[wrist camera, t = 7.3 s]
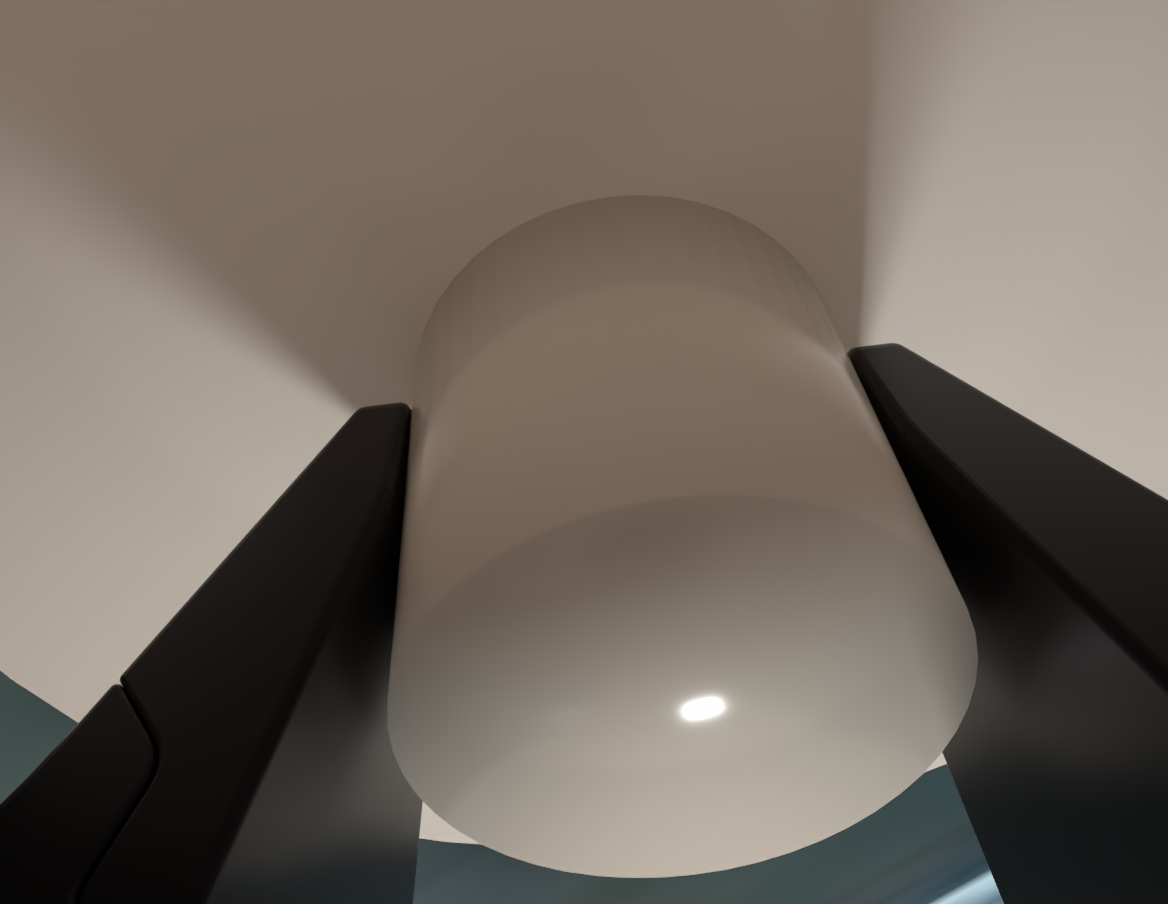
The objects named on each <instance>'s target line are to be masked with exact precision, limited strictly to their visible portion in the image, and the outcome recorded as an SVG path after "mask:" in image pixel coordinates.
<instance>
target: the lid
mask: <svg viewBox="0 0 1168 904" xmlns="http://www.w3.org/2000/svg"><path fill="white" fill-rule="evenodd" d="M886 343H897V344H900V345H902V346H904V347H906V348H908V349H909V350H911V351H913V352H915V353H916V354H918V355H920V356H921V357H923V358H925V359H927V360H928V361H930V362H932V363H933V364H935V365H937V366H939V367H940V368H942V369H944V370H946V371H947V372H949V373H951V374H952V375H954V376H956V377H958V378H959V379H961V380H963V381H964V382H966V383H968V384H970V385H971V386H973V387H975V388H976V389H978V390H980V391H982V392H983V393H985V394H987V395H989V396H990V397H992V398H994V399H995V400H997V401H999V402H1001V403H1002V404H1004V405H1006V406H1007V407H1009V408H1011V409H1013V410H1014V411H1016V412H1018V413H1019V414H1021V415H1023V416H1025V417H1026V418H1028V419H1030V420H1032V421H1033V422H1035V423H1037V424H1038V425H1040V426H1042V427H1044V428H1045V429H1047V430H1049V431H1050V432H1052V433H1054V434H1056V435H1057V436H1059V437H1061V438H1063V439H1064V440H1066V441H1068V442H1069V443H1071V444H1073V445H1075V446H1076V447H1078V448H1080V449H1081V450H1083V451H1085V452H1087V453H1088V454H1090V455H1092V456H1093V457H1095V458H1097V459H1099V460H1100V461H1102V462H1104V463H1106V464H1107V465H1109V466H1111V467H1112V468H1114V469H1116V470H1118V471H1119V472H1121V473H1123V474H1124V475H1126V476H1128V477H1130V478H1131V479H1133V480H1135V481H1136V482H1138V483H1140V484H1142V485H1143V486H1145V487H1147V488H1149V489H1150V490H1152V491H1154V492H1155V493H1157V494H1159V495H1161V496H1162V497H1164V498H1166V499H1167V500H1168V0H0V671H2V672H3V673H4V674H5V675H7V676H8V677H9V678H10V679H12V680H13V681H15V682H16V683H18V684H19V685H21V686H23V687H24V688H26V689H27V690H29V691H30V692H32V693H33V694H35V695H36V696H38V697H40V698H41V699H43V700H44V701H46V702H47V703H49V704H50V705H52V706H53V707H55V708H57V709H58V710H60V711H61V712H63V713H64V714H66V715H67V716H69V717H70V718H72V719H73V720H75V721H77V722H78V723H79V722H80V721H81V720H82V719H83V717H84V716H85V715H86V714H87V713H88V712H89V711H90V710H91V708H92V707H93V706H94V705H95V704H96V703H97V702H98V701H99V699H100V698H101V697H102V696H103V695H104V694H105V693H106V692H107V690H108V689H109V688H110V687H111V686H112V685H114V684H120V685H121V683H120V677H121V675H122V674H123V673H124V672H125V671H126V670H127V668H128V667H129V666H130V665H131V664H132V663H133V662H134V661H135V659H136V658H137V657H138V656H139V655H140V654H141V653H142V651H143V650H144V649H145V648H146V647H147V646H148V645H149V644H150V642H151V641H152V640H153V639H154V638H155V637H156V636H157V635H158V633H159V632H160V631H161V630H162V629H163V628H164V627H165V626H166V624H167V623H168V622H169V621H170V620H171V619H172V618H173V617H174V615H175V614H176V613H177V612H178V611H179V610H180V609H181V608H182V606H183V605H184V604H185V603H186V602H187V601H188V600H189V598H190V597H191V596H192V595H193V594H194V593H195V592H196V591H197V589H198V588H199V587H200V586H201V585H202V584H203V583H204V582H205V580H206V579H207V578H208V577H209V576H210V575H211V574H212V573H213V571H214V570H215V569H216V568H217V567H218V566H219V565H220V564H221V562H222V561H223V560H224V559H225V558H226V557H227V556H228V554H229V553H230V552H231V551H232V550H233V549H234V548H235V547H236V545H237V544H238V543H239V542H240V541H241V540H242V539H243V538H244V536H245V535H246V534H247V533H248V532H249V531H250V530H251V529H252V527H253V526H254V525H255V524H256V523H257V522H258V521H259V520H260V518H261V517H262V516H263V515H264V514H265V513H266V512H267V511H268V509H269V508H270V507H271V506H272V505H273V504H274V503H275V501H276V500H277V499H278V498H279V497H280V496H281V495H282V494H283V492H284V491H285V490H286V489H287V488H288V487H289V486H290V485H291V483H292V482H293V481H294V480H295V479H296V478H297V477H298V476H299V474H300V473H301V472H302V471H303V470H304V469H305V468H306V467H307V465H308V464H309V463H310V462H311V461H312V460H313V459H314V457H315V456H316V455H317V454H318V453H319V452H320V451H321V450H322V448H323V447H324V446H325V445H326V444H327V443H328V442H329V441H330V439H331V438H332V437H333V436H334V435H335V434H336V433H337V432H338V430H339V429H340V428H341V427H342V426H343V425H344V424H345V423H346V421H347V420H348V419H349V418H350V417H351V416H352V415H353V414H354V412H356V411H357V410H358V409H359V408H361V407H366V406H374V405H383V404H391V403H399V402H401V403H405V404H407V405H408V406H409V407H410V409H411V411H412V413H411V425H410V437H409V449H408V461H407V473H406V485H405V497H404V509H403V521H402V533H401V545H400V557H399V570H398V582H397V594H396V606H395V618H394V630H393V642H392V654H391V666H390V678H389V690H388V702H387V709H388V732H389V736H390V741H391V745H392V750H393V753H394V755H395V758H396V760H397V762H398V764H399V767H400V769H401V771H402V773H403V775H404V777H405V778H406V780H407V781H408V783H409V784H410V785H411V787H412V788H413V790H414V791H415V793H416V794H417V795H418V796H419V797H420V799H421V800H422V801H423V804H422V814H421V824H420V834H419V838H423V839H430V840H437V841H444V842H456V843H471V844H482V845H484V846H486V847H489V848H491V849H493V850H496V851H498V852H500V853H502V854H505V855H507V856H510V857H513V858H516V859H519V860H522V861H525V862H529V863H532V864H535V865H539V866H543V867H548V868H552V869H557V870H561V871H565V872H573V873H580V874H587V875H594V876H607V877H623V878H655V877H672V876H684V875H695V874H701V873H708V872H714V871H721V870H727V869H731V868H736V867H740V866H744V865H749V864H753V863H758V862H761V861H764V860H768V859H771V858H774V857H777V856H781V855H784V854H787V853H790V852H793V851H796V850H798V849H801V848H803V847H806V846H808V845H811V844H814V843H816V842H819V841H821V840H823V839H825V838H827V837H829V836H832V835H834V834H836V833H838V832H840V831H842V830H844V829H846V828H848V827H850V826H852V825H853V824H855V823H857V822H858V821H860V820H862V819H864V818H865V817H867V816H869V815H870V814H872V813H874V812H876V811H877V810H878V809H880V808H881V807H883V806H884V805H885V804H887V803H888V802H889V801H891V800H892V799H894V798H895V797H896V796H898V795H899V794H901V793H902V792H903V791H904V790H905V789H906V788H907V787H909V786H910V785H911V784H912V783H913V782H914V781H915V780H916V779H918V778H919V777H920V776H921V775H922V774H923V773H924V772H927V771H929V770H932V769H934V768H937V767H939V766H942V765H944V764H947V763H946V760H945V758H944V755H943V753H942V752H943V750H944V749H945V747H946V746H947V744H948V743H949V741H950V740H951V739H952V737H953V736H954V734H955V733H956V731H957V729H958V727H959V725H960V723H961V721H962V719H963V717H964V715H965V713H966V711H967V709H968V707H969V704H970V700H971V697H972V694H973V690H974V687H975V683H976V675H977V665H978V652H977V642H976V633H975V630H974V627H973V624H972V621H971V618H970V615H969V612H968V609H967V607H966V604H965V602H964V600H963V598H962V596H961V594H960V592H959V590H958V587H957V585H956V583H955V581H954V579H953V577H952V575H951V573H950V570H949V568H948V566H947V564H946V562H945V560H944V558H943V556H942V553H941V551H940V549H939V547H938V545H937V543H936V541H935V539H934V537H933V534H932V532H931V530H930V528H929V526H928V524H927V522H926V520H925V517H924V515H923V513H922V511H921V509H920V507H919V505H918V503H917V500H916V498H915V496H914V494H913V492H912V490H911V488H910V486H909V483H908V481H907V479H906V477H905V475H904V473H903V471H902V469H901V467H900V464H899V462H898V460H897V458H896V456H895V454H894V452H893V450H892V447H891V445H890V443H889V441H888V439H887V437H886V435H885V433H884V430H883V428H882V426H881V424H880V422H879V420H878V418H877V416H876V413H875V411H874V409H873V407H872V405H871V403H870V401H869V399H868V397H867V394H866V392H865V390H864V388H863V386H862V384H861V382H860V380H859V377H858V375H857V373H856V371H855V369H854V367H853V365H852V363H851V360H850V358H849V356H848V354H847V353H848V352H849V350H851V349H852V348H855V347H862V346H870V345H878V344H886ZM121 686H122V685H121ZM122 687H123V686H122Z"/></svg>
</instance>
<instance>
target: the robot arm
mask: <svg viewBox="0 0 1168 904" xmlns="http://www.w3.org/2000/svg"><path fill="white" fill-rule="evenodd" d="M847 354H848V356H849V358H850V360H851V363H852V365H853V367H854V369H855V371H856V373H857V375H858V377H859V380H860V382H861V384H862V386H863V388H864V390H865V392H866V394H867V397H868V399H869V401H870V403H871V405H872V407H873V409H874V411H875V413H876V416H877V418H878V420H879V422H880V424H881V426H882V428H883V430H884V433H885V435H886V437H887V439H888V441H889V443H890V445H891V447H892V450H893V452H894V454H895V456H896V458H897V460H898V462H899V464H900V467H901V469H902V471H903V473H904V475H905V477H906V479H907V481H908V483H909V486H910V488H911V490H912V492H913V494H914V496H915V498H916V500H917V503H918V505H919V507H920V509H921V511H922V513H923V515H924V517H925V520H926V522H927V524H928V526H929V528H930V530H931V532H932V534H933V537H934V539H935V541H936V543H937V545H938V547H939V549H940V551H941V553H942V556H943V558H944V560H945V562H946V564H947V566H948V568H949V570H950V573H951V575H952V577H953V579H954V581H955V583H956V585H957V587H958V590H959V592H960V594H961V596H962V598H963V600H964V602H965V604H966V607H967V609H968V612H969V615H970V618H971V621H972V624H973V627H974V630H975V633H976V642H977V652H978V665H977V675H976V683H975V687H974V690H973V694H972V697H971V700H970V704H969V707H968V709H967V711H966V713H965V715H964V717H963V719H962V721H961V723H960V725H959V727H958V729H957V731H956V733H955V734H954V736H953V737H952V739H951V740H950V741H949V743H948V744H947V746H946V747H945V749H944V750H943V752H942V753H943V755H944V758H945V760H946V763H947V765H948V768H949V770H950V773H951V775H952V777H953V780H954V782H955V785H956V787H957V790H958V792H959V795H960V797H961V799H962V802H963V804H964V807H965V809H966V812H967V814H968V817H969V819H970V821H971V824H972V826H973V829H974V831H975V834H976V836H977V839H978V841H979V843H980V846H981V848H982V851H983V853H984V856H985V858H986V861H987V863H988V865H989V868H990V870H991V873H992V875H993V878H994V880H995V882H996V885H997V887H998V890H999V892H1000V895H1001V897H1002V900H1003V902H1004V904H1168V500H1167V499H1166V498H1164V497H1162V496H1161V495H1159V494H1157V493H1155V492H1154V491H1152V490H1150V489H1149V488H1147V487H1145V486H1143V485H1142V484H1140V483H1138V482H1136V481H1135V480H1133V479H1131V478H1130V477H1128V476H1126V475H1124V474H1123V473H1121V472H1119V471H1118V470H1116V469H1114V468H1112V467H1111V466H1109V465H1107V464H1106V463H1104V462H1102V461H1100V460H1099V459H1097V458H1095V457H1093V456H1092V455H1090V454H1088V453H1087V452H1085V451H1083V450H1081V449H1080V448H1078V447H1076V446H1075V445H1073V444H1071V443H1069V442H1068V441H1066V440H1064V439H1063V438H1061V437H1059V436H1057V435H1056V434H1054V433H1052V432H1050V431H1049V430H1047V429H1045V428H1044V427H1042V426H1040V425H1038V424H1037V423H1035V422H1033V421H1032V420H1030V419H1028V418H1026V417H1025V416H1023V415H1021V414H1019V413H1018V412H1016V411H1014V410H1013V409H1011V408H1009V407H1007V406H1006V405H1004V404H1002V403H1001V402H999V401H997V400H995V399H994V398H992V397H990V396H989V395H987V394H985V393H983V392H982V391H980V390H978V389H976V388H975V387H973V386H971V385H970V384H968V383H966V382H964V381H963V380H961V379H959V378H958V377H956V376H954V375H952V374H951V373H949V372H947V371H946V370H944V369H942V368H940V367H939V366H937V365H935V364H933V363H932V362H930V361H928V360H927V359H925V358H923V357H921V356H920V355H918V354H916V353H915V352H913V351H911V350H909V349H908V348H906V347H904V346H902V345H900V344H897V343H886V344H878V345H870V346H862V347H855V348H852V349H851V350H849V352H848V353H847ZM411 413H412V411H411V409H410V407H409V406H408V405H407V404H405V403H401V402H399V403H391V404H383V405H374V406H366V407H361V408H359V409H358V410H357V411H356V412H354V414H353V415H352V416H351V417H350V418H349V419H348V420H347V421H346V423H345V424H344V425H343V426H342V427H341V428H340V429H339V430H338V432H337V433H336V434H335V435H334V436H333V437H332V438H331V439H330V441H329V442H328V443H327V444H326V445H325V446H324V447H323V448H322V450H321V451H320V452H319V453H318V454H317V455H316V456H315V457H314V459H313V460H312V461H311V462H310V463H309V464H308V465H307V467H306V468H305V469H304V470H303V471H302V472H301V473H300V474H299V476H298V477H297V478H296V479H295V480H294V481H293V482H292V483H291V485H290V486H289V487H288V488H287V489H286V490H285V491H284V492H283V494H282V495H281V496H280V497H279V498H278V499H277V500H276V501H275V503H274V504H273V505H272V506H271V507H270V508H269V509H268V511H267V512H266V513H265V514H264V515H263V516H262V517H261V518H260V520H259V521H258V522H257V523H256V524H255V525H254V526H253V527H252V529H251V530H250V531H249V532H248V533H247V534H246V535H245V536H244V538H243V539H242V540H241V541H240V542H239V543H238V544H237V545H236V547H235V548H234V549H233V550H232V551H231V552H230V553H229V554H228V556H227V557H226V558H225V559H224V560H223V561H222V562H221V564H220V565H219V566H218V567H217V568H216V569H215V570H214V571H213V573H212V574H211V575H210V576H209V577H208V578H207V579H206V580H205V582H204V583H203V584H202V585H201V586H200V587H199V588H198V589H197V591H196V592H195V593H194V594H193V595H192V596H191V597H190V598H189V600H188V601H187V602H186V603H185V604H184V605H183V606H182V608H181V609H180V610H179V611H178V612H177V613H176V614H175V615H174V617H173V618H172V619H171V620H170V621H169V622H168V623H167V624H166V626H165V627H164V628H163V629H162V630H161V631H160V632H159V633H158V635H157V636H156V637H155V638H154V639H153V640H152V641H151V642H150V644H149V645H148V646H147V647H146V648H145V649H144V650H143V651H142V653H141V654H140V655H139V656H138V657H137V658H136V659H135V661H134V662H133V663H132V664H131V665H130V666H129V667H128V668H127V670H126V671H125V672H124V673H123V674H122V675H121V677H120V683H121V685H122V686H123V687H122V686H121V685H120V684H114V685H112V686H111V687H110V688H109V689H108V690H107V692H106V693H105V694H104V695H103V696H102V697H101V698H100V699H99V701H98V702H97V703H96V704H95V705H94V706H93V707H92V708H91V710H90V711H89V712H88V713H87V714H86V715H85V716H84V717H83V719H82V720H81V721H80V722H79V723H78V724H77V725H76V726H75V727H74V728H73V729H72V731H71V732H70V733H69V734H68V735H67V736H66V737H65V738H64V739H63V740H62V741H61V742H60V743H59V744H58V746H57V747H56V748H55V749H54V750H53V751H52V752H51V753H50V754H49V755H48V756H47V757H46V758H45V760H44V761H43V762H42V763H41V764H40V765H39V766H38V767H37V768H36V769H35V770H34V771H33V772H32V773H31V775H30V776H29V777H28V778H27V779H26V780H25V781H24V782H23V783H22V784H21V785H20V786H19V787H18V788H17V789H16V790H15V791H14V792H13V793H12V794H10V795H9V796H8V797H7V798H6V799H5V800H4V801H3V802H2V803H1V804H0V904H413V894H414V884H415V874H416V864H417V854H418V844H419V834H420V824H421V814H422V804H423V801H422V800H421V799H420V797H419V796H418V795H417V794H416V793H415V791H414V790H413V788H412V787H411V785H410V784H409V783H408V781H407V780H406V778H405V777H404V775H403V773H402V771H401V769H400V767H399V764H398V762H397V760H396V758H395V755H394V753H393V750H392V745H391V741H390V736H389V732H388V709H387V702H388V690H389V678H390V666H391V654H392V642H393V630H394V618H395V606H396V594H397V582H398V570H399V557H400V545H401V533H402V521H403V509H404V497H405V485H406V473H407V461H408V449H409V437H410V425H411Z"/></svg>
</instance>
